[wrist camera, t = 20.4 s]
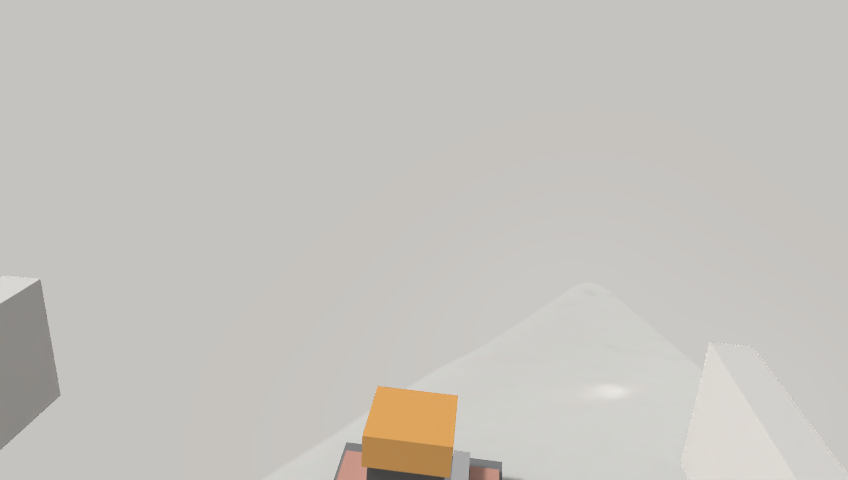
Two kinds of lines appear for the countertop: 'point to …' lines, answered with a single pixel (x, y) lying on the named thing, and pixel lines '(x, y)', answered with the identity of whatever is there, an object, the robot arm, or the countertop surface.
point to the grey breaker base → (466, 476)
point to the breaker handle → (409, 435)
